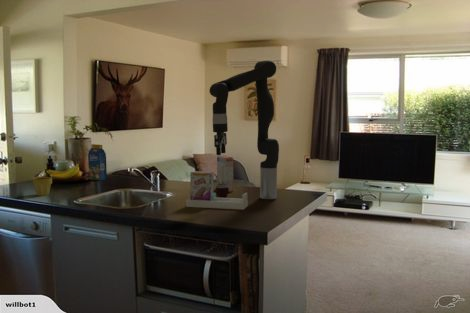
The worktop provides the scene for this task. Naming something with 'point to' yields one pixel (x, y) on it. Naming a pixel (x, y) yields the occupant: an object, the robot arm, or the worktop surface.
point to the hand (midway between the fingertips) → (221, 154)
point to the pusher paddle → (214, 198)
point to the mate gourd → (221, 189)
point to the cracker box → (225, 171)
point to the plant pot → (42, 185)
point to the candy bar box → (201, 185)
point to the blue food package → (97, 163)
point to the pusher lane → (220, 203)
